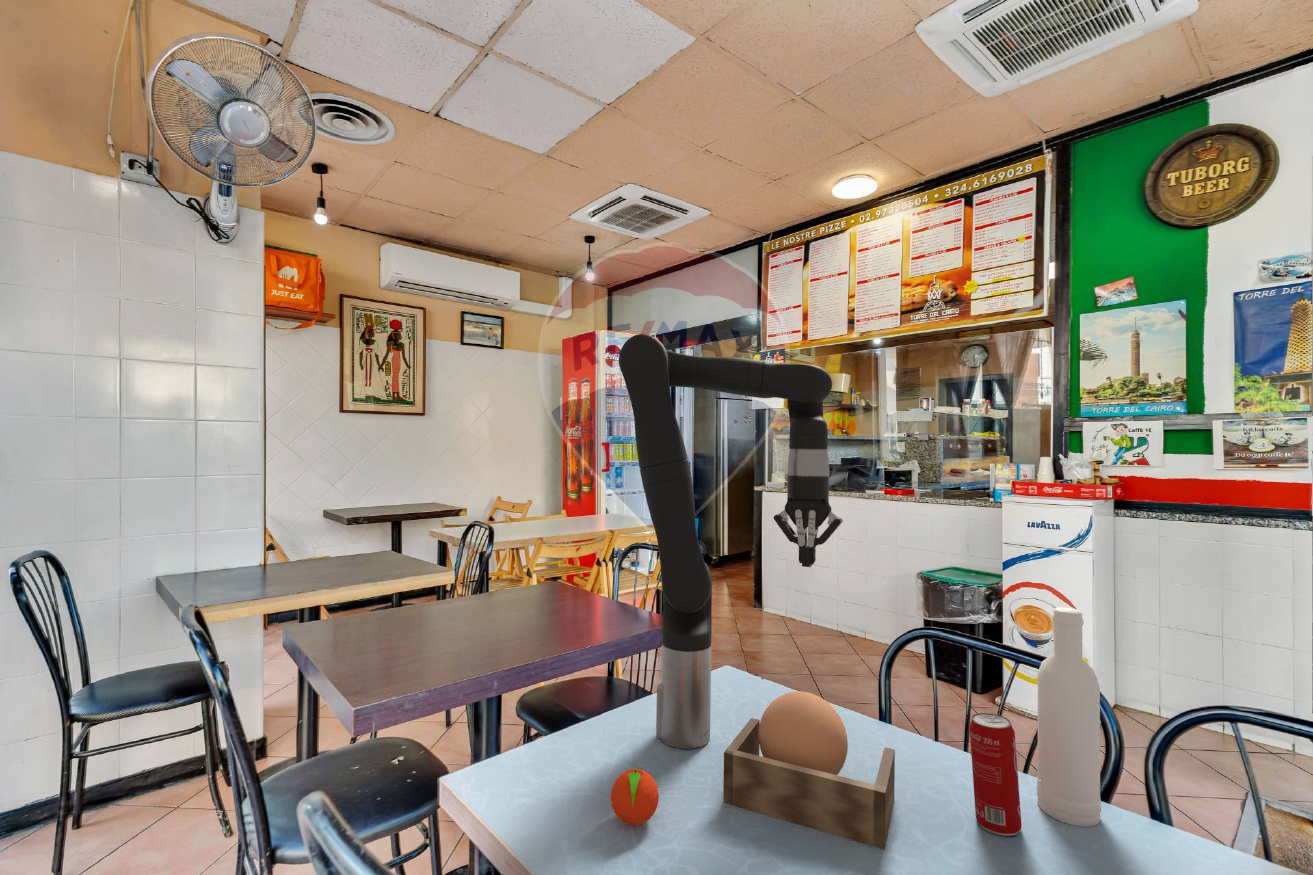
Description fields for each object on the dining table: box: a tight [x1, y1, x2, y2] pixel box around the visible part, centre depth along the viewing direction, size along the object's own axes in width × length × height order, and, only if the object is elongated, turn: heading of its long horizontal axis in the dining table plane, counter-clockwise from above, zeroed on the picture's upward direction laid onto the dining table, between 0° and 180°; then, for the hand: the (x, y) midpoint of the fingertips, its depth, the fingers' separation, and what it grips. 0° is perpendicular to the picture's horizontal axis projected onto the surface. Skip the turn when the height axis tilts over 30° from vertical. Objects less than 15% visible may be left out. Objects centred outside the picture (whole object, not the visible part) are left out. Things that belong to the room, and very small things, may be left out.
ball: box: [759, 690, 849, 776], centre depth 97 cm, size 14×14×14 cm
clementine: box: [610, 768, 660, 826], centre depth 85 cm, size 8×7×7 cm
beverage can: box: [969, 712, 1023, 837], centre depth 86 cm, size 6×6×15 cm
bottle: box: [1036, 606, 1102, 828], centre depth 90 cm, size 8×8×30 cm
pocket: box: [722, 717, 896, 850], centre depth 92 cm, size 23×14×8 cm, turn 63°
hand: (807, 566), depth 112 cm, fingers closed
